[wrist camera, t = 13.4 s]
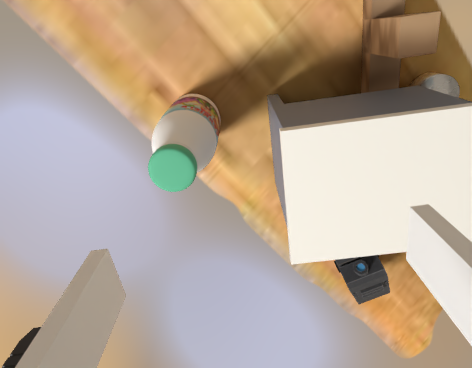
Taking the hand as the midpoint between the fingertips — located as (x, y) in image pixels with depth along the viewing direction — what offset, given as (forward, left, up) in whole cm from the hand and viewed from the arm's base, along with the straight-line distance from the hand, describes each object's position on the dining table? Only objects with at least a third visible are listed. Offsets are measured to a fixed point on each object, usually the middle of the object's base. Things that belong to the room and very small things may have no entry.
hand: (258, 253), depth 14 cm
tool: (+26, +15, -37) cm, 48 cm away
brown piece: (-1, +19, -37) cm, 41 cm away
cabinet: (+7, +13, -37) cm, 39 cm away
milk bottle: (+2, -7, -37) cm, 38 cm away
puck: (+3, +27, -37) cm, 46 cm away
